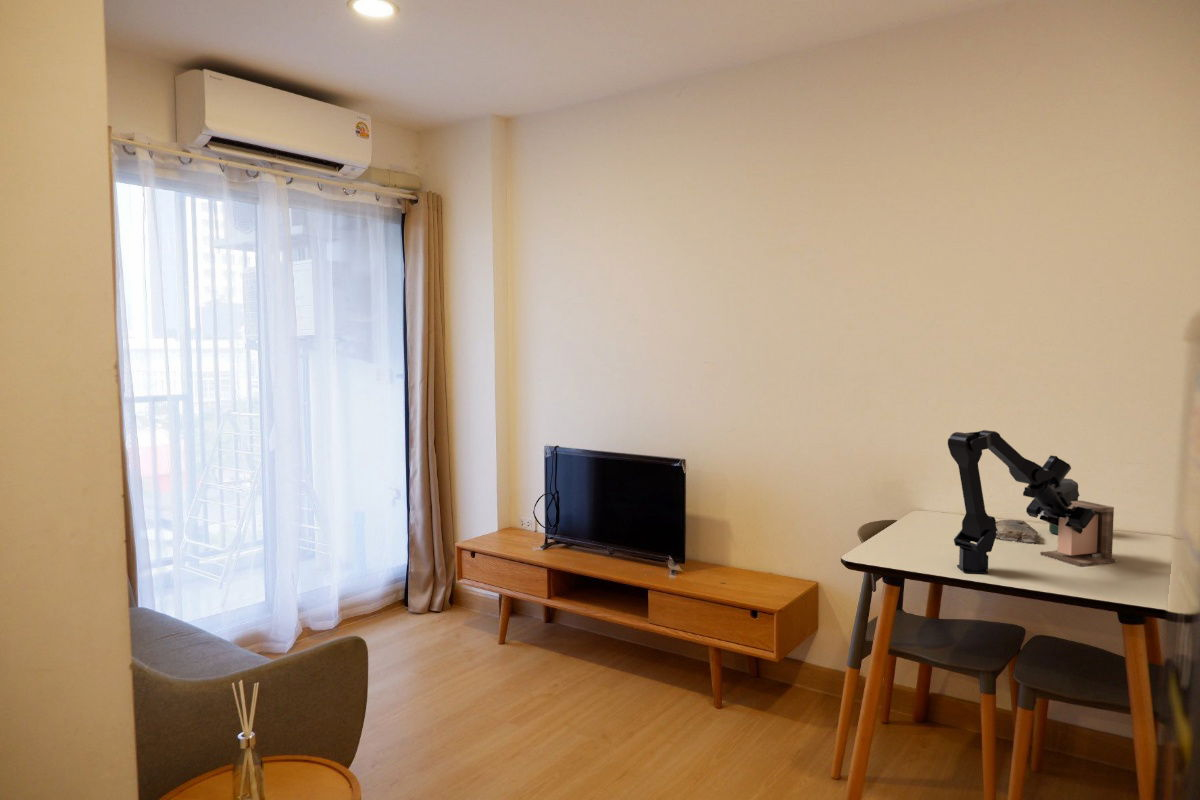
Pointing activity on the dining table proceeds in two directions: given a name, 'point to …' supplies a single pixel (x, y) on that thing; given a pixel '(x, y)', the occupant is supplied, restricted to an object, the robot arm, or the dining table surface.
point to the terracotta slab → (1078, 538)
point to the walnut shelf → (1103, 538)
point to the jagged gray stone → (1016, 531)
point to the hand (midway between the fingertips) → (1073, 530)
